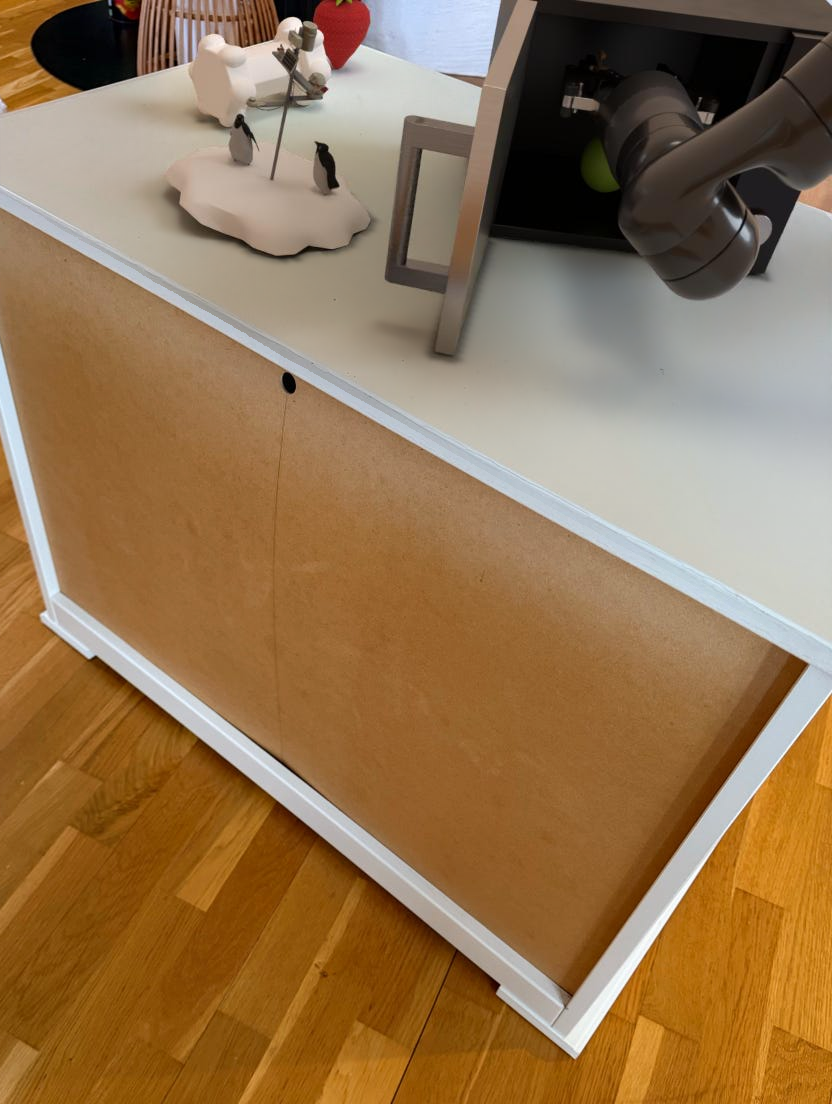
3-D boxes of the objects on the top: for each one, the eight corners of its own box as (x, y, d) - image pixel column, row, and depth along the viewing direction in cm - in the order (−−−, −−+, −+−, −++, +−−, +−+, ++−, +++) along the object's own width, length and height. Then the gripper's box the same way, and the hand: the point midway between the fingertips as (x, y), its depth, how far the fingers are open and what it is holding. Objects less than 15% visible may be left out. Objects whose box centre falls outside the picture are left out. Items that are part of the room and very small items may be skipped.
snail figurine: (560, 175, 95) (595, 41, 86) (621, 181, 95) (662, 49, 86) (568, 197, 91) (605, 60, 82) (631, 204, 91) (675, 68, 82)
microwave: (765, 280, 89) (871, 46, 74) (480, 246, 88) (529, 2, 73) (717, 183, 104) (798, -29, 89) (472, 153, 103) (512, -66, 88)
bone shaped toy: (281, 86, 111) (283, 7, 105) (332, 110, 108) (338, 30, 101) (185, 112, 103) (182, 28, 97) (237, 138, 100) (237, 53, 94)
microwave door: (371, 338, 75) (403, 70, 61) (418, 226, 90) (454, -14, 75) (453, 355, 75) (506, 89, 60) (488, 240, 89) (537, 1, 74)
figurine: (122, 188, 87) (120, -11, 74) (250, 141, 97) (268, -40, 85) (283, 287, 82) (310, 91, 69) (400, 227, 92) (442, 47, 79)
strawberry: (375, 73, 117) (385, -20, 109) (326, 80, 114) (332, -16, 106) (350, 57, 120) (357, -35, 112) (301, 64, 117) (305, -31, 109)
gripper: (755, 98, 73) (711, 34, 85) (578, 77, 73) (557, 15, 84) (719, 194, 79) (682, 122, 90) (554, 175, 79) (537, 105, 90)
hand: (622, 70), depth 87 cm, fingers closed on snail figurine, 6 cm apart
